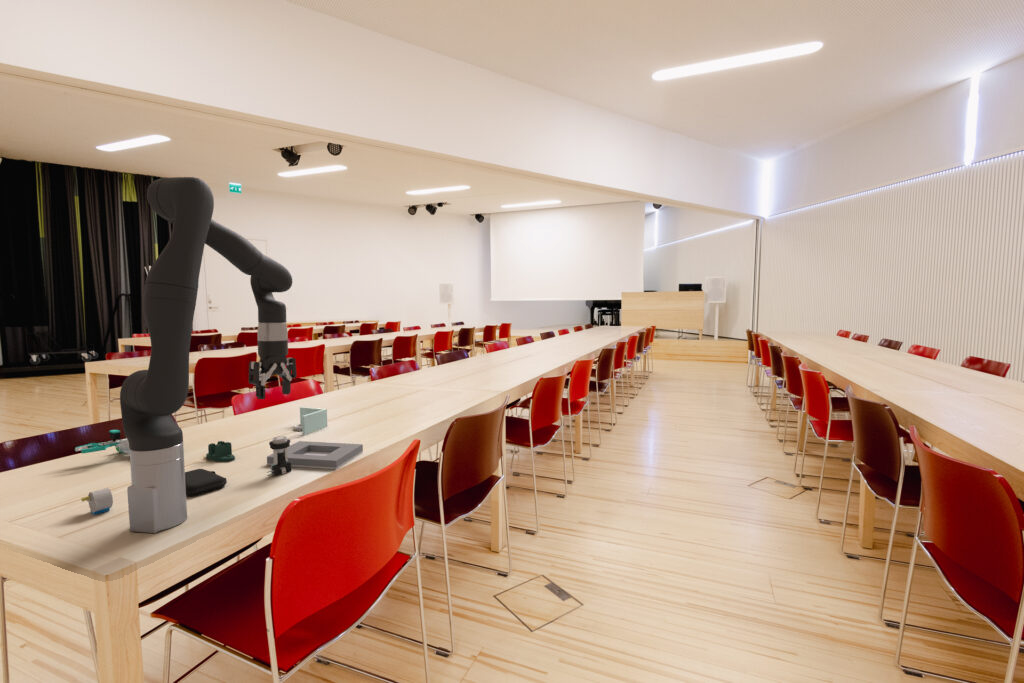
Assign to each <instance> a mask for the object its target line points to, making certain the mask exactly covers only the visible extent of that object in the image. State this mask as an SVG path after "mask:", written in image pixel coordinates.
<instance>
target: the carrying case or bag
mask: <svg viewBox="0 0 1024 683" xmlns="http://www.w3.org/2000/svg"><path fill="white" fill-rule="evenodd" d="M227 483H228V480H227V478H226V477H224V476H221V475H219V474H217V473H216V471H214V470H208V469H204V468H195V469H192V470H189V471H188V470H187V471H185V484H186V497H196V496H200V495H203V494H207V493H211V492H213V491H215V490H217V491H218V490H220V489H222V488H224V487H225V486H226V484H227Z"/></svg>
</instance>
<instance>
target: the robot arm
mask: <svg viewBox="0 0 1024 683" xmlns="http://www.w3.org/2000/svg"><path fill="white" fill-rule="evenodd" d="M146 198H147V202H148V204H149V206H150V208H151V209H152V210H153V211H154V212H155V213H156V215H158V216H159V217H161V218H162V219H164V220H166V221H167V222H168V223H170V224H172V225H173V227H172V231H171V235H170V237H169V240H168V242H167V244H166V246H165V247H164V248H163V250H161V253H160V254H159V255H158V256H157V258H156V259H155V261H154V262H153V264H151V267H150V268H149V270H148V272H147V273H146V274H147V276H146V279H145V283H144V289H143V290H144V291H143V298H142V313H143V317H144V320H145V325H146V327H147V330H148V331H147V332H148V335H149V339H150V347H151V348H150V357H149V362H148V369H142V370H141V369H140V370H137V371H134V372H132V373H131V374H129V375H128V376H127V377H126V378H125V379H124V381H123V382H122V385H121V387H120V391H119V403H120V405H119V406H120V414H121V422H122V428H123V433H124V435H125V438H127V439H128V442H129V449H130V454H129V462H130V463H129V464H130V478H131V485H129V486H127V489H126V491H127V505H128V520H129V523H128V524H129V531H130V532H137V533H148V534H149V533H150V534H156V533H158V532H160V531H164V530H168V529H170V528H174V527H176V526H178V525H180V524H183V522H185V521H186V520H187V519H188V504H187V495H186V484H185V472H186V470H185V451H184V450H185V449H184V435H183V430H182V428H181V427H180V426H179V425H178V424H177V423H176V422H175V421H174V419H173V417H172V415H173V414H175V413H176V412H178V411H179V410H180V409H181V408H182V407H183V405H184V404H185V403H186V400H187V398H188V394H189V388H190V387H189V386H190V348H191V340H192V333H193V323H194V316H195V311H196V305H197V300H198V299H197V298H198V291H199V280H200V272H201V267H202V260H203V256H204V249H205V245H206V246H208V247H209V248H211V249H212V250H213V251H215V252H217V253H218V254H220V255H221V256H222V257H223V258H225V260H227V261H228V262H229V263H230V264H232V265H233V267H235V268H237V269H238V270H239V271H240V272H242V273H243V274H244V275H247V276H250V277H249V278H250V279H249V280H250V281H249V282H250V287H251V291H252V293H253V296H254V297H253V298H254V300H255V303H256V306H257V321H258V324H257V356H259V361H249V363H248V384H250V385H251V384H252V385H254V386H255V396H256V398H257V399H258V400H264V399H266V383H267V381H268V379H270V378H271V377H273V376H277V375H278V376H279V377H280V379H281V380H282V381H281V393H282V394H283V395H290V394H291V391H292V390H291V389H292V387H291V381H292V380H293V379H296V378H297V376H298V375H297V362H296V358H295V357H287V356H288V355H289V338H288V337H289V336H288V335H289V333H288V332H289V331H288V327H287V308H286V307H287V306H286V304H285V303H284V302H283V301H280V300H276V299H275V297H274V294H273V293H284V292H287V291H288V290H290V289H291V287H292V286H293V277H292V274H291V272H290V271H289V270H288V268H286V267H285V265H283V264H281V263H280V262H278V261H277V260H275V259H273V258H271V257H269V256H267V255H265V254H263V253H262V252H261V251H260V250H259V249H258V248H257V247H256V246H255V245H254V244H253V243H252V242H251V241H249V240H248V239H247V238H245V237H244V236H243V235H241V234H239V233H238V232H236V231H234V230H232V229H230V228H229V227H226V226H225V225H223V224H221V223H219V222H217V221H216V220H214V219H213V214H214V213H213V212H214V207H215V205H214V204H215V200H214V195H213V191H212V190H211V187H210V186H209V184H208V183H207V182H206V181H205V180H203V179H201V178H199V177H193V176H178V177H177V176H176V177H163V178H157V179H155V180H153V181H152V182H150V184H149V185H148V187H147V190H146Z"/></svg>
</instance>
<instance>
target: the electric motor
mask: <svg viewBox="0 0 1024 683" xmlns="http://www.w3.org/2000/svg"><path fill="white" fill-rule="evenodd" d="M80 499H81V502H87V503H88V507H89V509H90V510H89V511H90V514H91V515H93V516H96V515H99V514H102V513H106V512H109V511H110V509H111V508H112V507H113V504H114V500H113V493H112V491H111V489H110V488H109V487H106V488H101V489H97V490H93V491H90V492H89V493H88V495H87V496H85V497H81V498H80Z"/></svg>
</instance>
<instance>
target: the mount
mask: <svg viewBox="0 0 1024 683" xmlns="http://www.w3.org/2000/svg"><path fill="white" fill-rule="evenodd" d="M207 447H208V448H207V450H208V453H206V454H205V456H206V458H207V460H209V461H213V462H219V463H223V462H224V463H229V462H233V461H236V456H235V455H234V454H233V450H232V447H233V446H232V442H229V441H223V440H219V441H217V443H213V442H212V443H209V444H208V445H207Z"/></svg>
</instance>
